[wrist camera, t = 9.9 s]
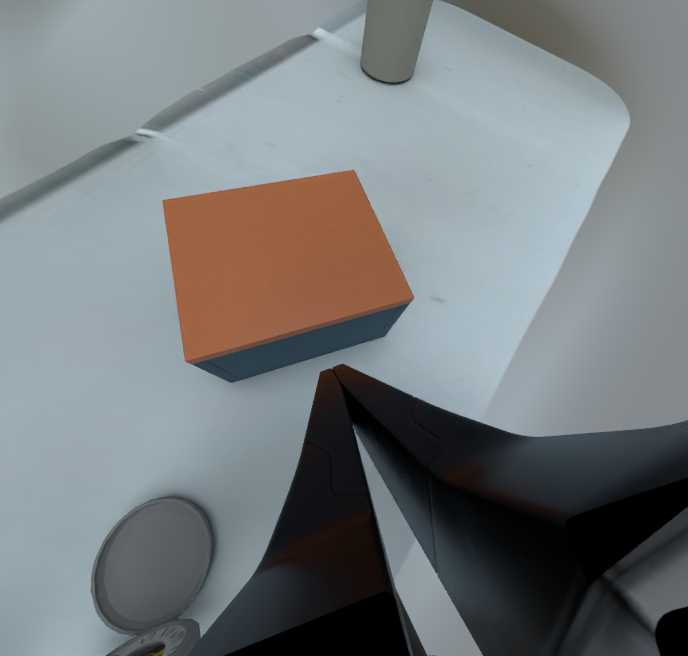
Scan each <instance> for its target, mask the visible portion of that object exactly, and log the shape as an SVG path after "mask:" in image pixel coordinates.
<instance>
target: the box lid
mask: <svg viewBox="0 0 688 656" xmlns="http://www.w3.org/2000/svg"><path fill="white" fill-rule="evenodd" d="M163 208H164V215H165V222H166V229H167V236H168V243H169V250H170V257H171V264H172V272H173V279H174V286H175V293H176V300H177V307H178V314H179V321H180V328H181V335H182V342H183V349H184V356H185V361H186V362H188V363H190V364H196V363H199V362H203V361H206V360H210V359H213V358H217V357H220V356H224V355H228V354H231V353H235V352H238V351H242V350H245V349H249V348H252V347H256V346H259V345H263V344H267V343H270V342H274V341H277V340H281V339H284V338H288V337H291V336H295V335H299V334H302V333H306V332H309V331H313V330H316V329H320V328H323V327H327V326H330V325H334V324H338V323H341V322H345V321H348V320H352V319H355V318H359V317H362V316H366V315H370V314H373V313H377V312H380V311H384V310H387V309H391V308H394V307H398V306H401V305H405V304H409V303H411V301H412V300H413V299H414V296H413V294H412V292H411V290H410V287H409V285H408V283H407V281H406V279H405V277H404V275H403V273H402V270H401V268H400V266H399V264H398V262H397V260H396V258H395V256H394V253H393V251H392V249H391V247H390V245H389V243H388V241H387V239H386V236H385V234H384V232H383V230H382V228H381V226H380V224H379V222H378V219H377V217H376V215H375V213H374V211H373V209H372V207H371V205H370V202H369V200H368V198H367V196H366V194H365V192H364V190H363V188H362V185H361V183H360V181H359V179H358V177H357V175H356V173H355V171H354V170H350V171H344V172H338V173H332V174H325V175H319V176H313V177H306V178H300V179H294V180H287V181H281V182H275V183H268V184H262V185H256V186H250V187H243V188H237V189H231V190H224V191H218V192H212V193H205V194H199V195H193V196H186V197H180V198H174V199H168V200H163Z"/></svg>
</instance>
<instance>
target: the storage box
mask: <svg viewBox="0 0 688 656" xmlns="http://www.w3.org/2000/svg"><path fill="white" fill-rule="evenodd" d="M409 304H410V303H409ZM409 304H405V305H401V306H398V307H394V308H391V309H387V310H384V311H380V312H377V313H373V314H370V315H366V316H362V317H359V318H355V319H352V320H348V321H345V322H341V323H338V324H334V325H330V326H327V327H323V328H320V329H316V330H313V331H309V332H306V333H302V334H299V335H295V336H291V337H288V338H284V339H281V340H277V341H274V342H270V343H267V344H263V345H259V346H256V347H252V348H249V349H245V350H242V351H238V352H235V353H231V354H228V355H224V356H220V357H217V358H213V359H210V360H206V361H203V362H199V363H196V364H193V365H194V366H196V367H198V368H201V369H203V370H205V371H207V372H209V373H211V374H213V375H216V376H218V377H220V378H222V379H224V380H226V381H228V382H231V383H232V382H235V381H238V380H242V379H245V378H248V377H251V376H255V375H258V374H261V373H265V372H268V371H271V370H275V369H278V368H281V367H284V366H288V365H291V364H294V363H298V362H301V361H304V360H307V359H311V358H314V357H317V356H321V355H324V354H327V353H331V352H334V351H337V350H340V349H344V348H347V347H350V346H354V345H357V344H360V343H363V342H367V341H370V340H373V339H377V338H380V337H383V336H385V335H386V334H387V332H388V331H389V330H390V328H391V327H392V326H393V325H394V323H395V322H396V321H397V319H398V318H399V317H400V315H401V314H402V313H403V312H404V310H405V309H406V308H407V306H408V305H409Z"/></svg>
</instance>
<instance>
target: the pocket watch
mask: <svg viewBox="0 0 688 656" xmlns="http://www.w3.org/2000/svg"><path fill="white" fill-rule="evenodd" d="M212 548H213V542H212V533H211V529H210V526H209V523H208V521H207V519H206V517H205V515H204V514H203V512H202V511H201V510H200V509H199V508H198V507H196V506H195V505H194V504H193V503H192V502H189V501H187V500H184V499H182V498H175V497H165V498H159V499H155V500H150V501H148V502H146V503H145V504H143V505H141V506H139V507H137V508H135V509H133V510H132V511H131V512H129V513H128V514H127V515H125V516H124V517H123V518H122V519H121V520H120V521H119V522H118V523H117V524H116V525H115V526H114V527H113V529H112V530H111V531H110V533H109V534H108V535H107V537H106V538H105V540H104V542H103V544H102V546H101V548H100V550H99V552H98V554H97V557H96V559H95V562H94V566H93V571H92V577H91V594H92V598H93V602H94V606H95V609H96V612H97V614H98V616H99V617H100V618H101V620H102V621H103V622H104V623H105V625H106V626H108V627H109V628H111V629H113V630H114V631H116V632H118V633H121V634H127V635H138V636H136V637H134V638H133V639H131V640H129V641H128V642H126V643H124V644H123V645H121V646H119V647H118V648H116V649H115V650H113V651H112V652H110V653H109V654H107V655H106V656H187V654H188V653H189V652H190V651H191V650H192V648H193V647H194V646H195V645H196V644H197V642H198V641H199V640H200V627H199V623H197V622H196V621H194V620H192V619H179V620H178V618H177V617H178V616H179V615H180V614H182V612H183V611H184V610H185V609H186V608H187V607H188V606H189V605H190V603H191V602H192V600H193V599H194V598H195V596H196V595H197V593H198V592H199V590H200V588H201V586H202V584H203V582H204V580H205V578H206V576H207V574H208V570H209V566H210V562H211V558H212Z"/></svg>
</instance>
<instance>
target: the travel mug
mask: <svg viewBox="0 0 688 656" xmlns="http://www.w3.org/2000/svg"><path fill="white" fill-rule="evenodd" d="M432 2H433V0H368V3H367V12H366V20H365V28H364V37H363V45H362V53H361V66H362V68H363V69H364V70H365V71H366V72H367V73H368V74H369V75H371V76H372V77H373V78H375V79H377V80H380V81H383V82H389V83H397V82H400V81H404V80H407V79H409V78H410V77H411V76H412V74H413V72H414V68H415V64H416V61H417V57H418V54H419V50H420V46H421V43H422V39H423V35H424V32H425V28H426V24H427V21H428V17H429V13H430V10H431V6H432Z"/></svg>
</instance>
